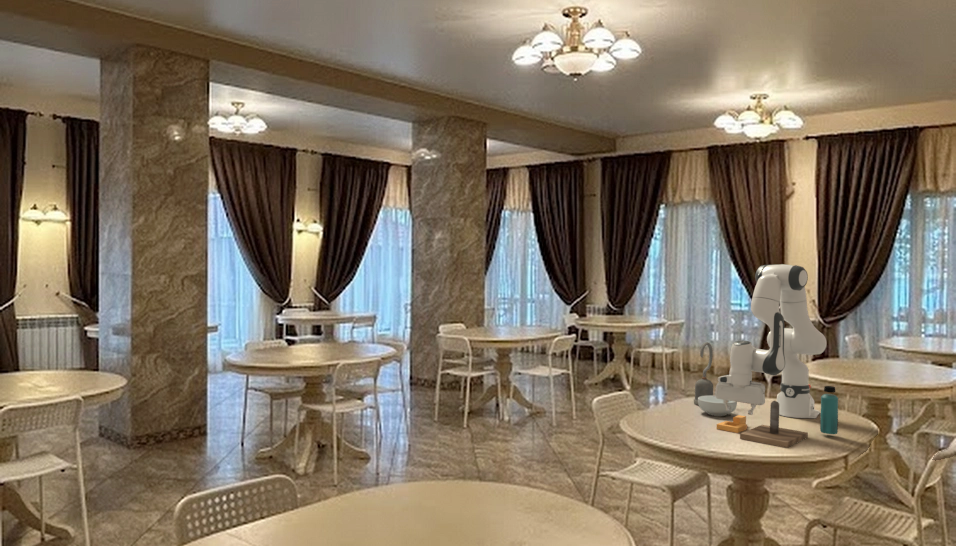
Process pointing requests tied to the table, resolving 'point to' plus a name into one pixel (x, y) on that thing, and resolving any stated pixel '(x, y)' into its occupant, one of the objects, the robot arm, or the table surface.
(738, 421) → the loop fitting
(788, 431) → the keeper board
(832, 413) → the beverage bottle
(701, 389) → the hook
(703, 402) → the cereal bowl
